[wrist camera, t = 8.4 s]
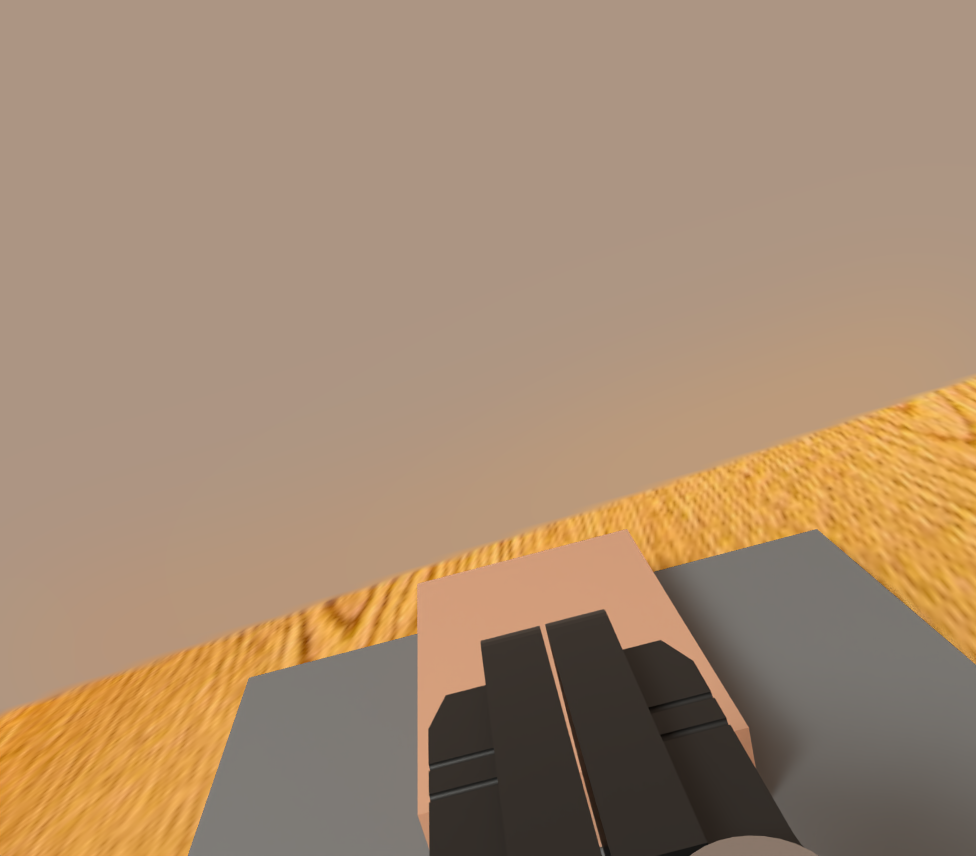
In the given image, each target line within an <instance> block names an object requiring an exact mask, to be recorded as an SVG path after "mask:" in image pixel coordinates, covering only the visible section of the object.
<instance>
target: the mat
mask: <svg viewBox="0 0 976 856" xmlns="http://www.w3.org/2000/svg"><path fill="white" fill-rule="evenodd" d="M653 573H654V574H655V576H656V577H657V579H658V581H659V582H660V584H661V586H662V587H663V589H664V590H665V592H666V594H667V595H668V597H669V599H670V600H671V602H672V603H673V605H674V607H675V608H676V610H677V612H678V613H679V615H680V616H681V618H682V620H683V621H684V623H685V625H686V626H687V628H688V629H689V631H690V633H691V634H692V636H693V638H694V639H695V641H696V642H697V644H698V646H699V647H700V649H701V651H702V652H703V654H704V655H705V657H706V659H707V660H708V662H709V664H710V665H711V667H712V668H713V670H714V672H715V673H716V675H717V677H718V678H719V680H720V681H721V683H722V685H723V686H724V688H725V690H726V691H727V693H728V694H729V696H730V698H731V699H732V701H733V703H734V704H735V706H736V707H737V709H738V711H739V712H740V714H741V716H742V717H743V719H744V720H745V722H746V724H747V725H748V727H749V732H750V737H751V743H752V749H753V755H754V761H755V766H756V770H757V771H758V773H759V775H760V776H761V778H762V780H763V782H764V783H765V785H766V787H767V789H768V790H769V792H770V794H771V795H772V797H773V799H774V801H775V802H776V804H777V806H778V808H779V809H780V811H781V813H782V814H783V816H784V818H785V820H786V821H787V823H788V825H789V827H790V828H791V830H792V832H793V833H794V835H795V836H796V837H797V839H798V840H799V842H800V843H801V845H802V846H803V847H804V848H806V849H808V850H811V851H812V852H814V853H815V854H817V855H818V856H976V665H975V664H974V663H973V662H972V661H971V660H970V659H968V658H967V657H966V656H965V655H964V654H962V653H961V652H960V651H959V650H958V649H957V648H955V647H954V646H953V645H952V644H951V643H950V642H948V641H947V640H946V639H945V638H944V637H943V636H941V635H940V634H939V633H938V632H937V631H936V630H934V629H933V628H932V627H931V626H930V625H928V624H927V623H926V622H925V621H924V620H923V619H921V618H920V617H919V616H918V615H917V614H916V613H914V612H913V611H912V610H911V609H910V608H909V607H907V606H906V605H905V604H904V603H903V602H902V601H900V600H899V599H898V598H897V597H896V596H894V595H893V594H892V593H891V592H890V591H889V590H887V589H886V588H885V587H884V586H883V585H882V584H880V583H879V582H878V581H877V580H876V579H875V578H873V577H872V576H871V575H870V574H869V573H868V572H866V571H865V570H864V569H863V568H862V567H860V566H859V565H858V564H857V563H856V562H855V561H853V560H852V559H851V558H850V557H849V556H848V555H846V554H845V553H844V552H843V551H842V550H841V549H839V548H838V547H837V546H836V545H835V544H834V543H832V542H831V541H830V540H829V539H828V538H826V537H825V536H824V535H823V534H822V533H821V532H819V531H818V530H817V529H816V530H812V531H808V532H804V533H801V534H797V535H793V536H789V537H785V538H781V539H778V540H774V541H770V542H766V543H762V544H759V545H755V546H751V547H747V548H743V549H739V550H736V551H732V552H728V553H724V554H720V555H717V556H713V557H709V558H705V559H701V560H697V561H694V562H690V563H686V564H682V565H678V566H675V567H671V568H667V569H663V570H659V571H655V572H653ZM600 850H601V854H602V856H605V855H604V852H603V848H602V847H600ZM188 856H429V847H428V844H427V841H426V839H425V836H424V833H423V830H422V827H421V824H420V821H419V818H418V634H415V635H411V636H407V637H403V638H400V639H396V640H392V641H388V642H384V643H380V644H377V645H373V646H369V647H365V648H361V649H358V650H354V651H350V652H346V653H342V654H338V655H335V656H331V657H327V658H323V659H319V660H316V661H312V662H308V663H304V664H300V665H296V666H293V667H289V668H285V669H281V670H277V671H274V672H270V673H266V674H262V675H258V676H254V677H251V678H249V679H248V682H247V685H246V688H245V691H244V694H243V697H242V700H241V703H240V706H239V709H238V711H237V714H236V717H235V720H234V723H233V726H232V729H231V732H230V735H229V738H228V741H227V743H226V746H225V749H224V752H223V755H222V758H221V761H220V764H219V767H218V770H217V772H216V775H215V778H214V781H213V784H212V787H211V790H210V793H209V796H208V799H207V802H206V804H205V807H204V810H203V813H202V816H201V819H200V822H199V825H198V828H197V831H196V834H195V836H194V839H193V842H192V845H191V848H190V851H189V854H188Z"/></svg>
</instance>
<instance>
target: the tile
mask: <svg viewBox="0 0 976 856" xmlns="http://www.w3.org/2000/svg"><path fill="white" fill-rule="evenodd" d="M602 609H604V610H605V611H606V613H607V615H608V617H609V619H610V622H611V624H612V626H613V629H614V631H615V633H616V635H617V638H618V640H619V642H620V645H621V647H622V649H627V648H631V647H635V646H639V645H643V644H647V643H650V642H654V641H658V640H662V641H663V642H665V643H667V644H668V645H670V646H671V647H673V648H674V649H676V650H677V651H679V652H681V653H682V654H684V655H685V656H687V657H688V658H690V659H691V660H693V661H694V663H695V664H696V666H697V668H698V670H699V671H700V673H701V675H702V677H703V678H704V680H705V682H706V683H707V685H708V687H709V689H710V690H711V693H712V696H713V698H715V699H716V701H717V702H718V704H719V706H720V708H721V709H722V711H723V713H724V714H725V716H726V718H727V722H728V724H729V725H731V726H732V728H733V730H734V732H735V733H736V735H737V737H738V739H739V740H740V742H741V744H742V745H743V747H744V749H745V751H746V752H747V754H748V756H749V758H750V759H751V761H752V763H753V764H754V766H755V761H754V755H753V749H752V743H751V737H750V732H749V727H748V725H747V724H746V722H745V720H744V719H743V717H742V716H741V714H740V712H739V711H738V709H737V707H736V706H735V704H734V703H733V701H732V699H731V698H730V696H729V694H728V693H727V691H726V690H725V688H724V686H723V685H722V683H721V681H720V680H719V678H718V677H717V675H716V673H715V672H714V670H713V668H712V667H711V665H710V664H709V662H708V660H707V659H706V657H705V655H704V654H703V652H702V651H701V649H700V647H699V646H698V644H697V642H696V641H695V639H694V638H693V636H692V634H691V633H690V631H689V629H688V628H687V626H686V625H685V623H684V621H683V620H682V618H681V616H680V615H679V613H678V612H677V610H676V608H675V607H674V605H673V603H672V602H671V600H670V599H669V597H668V595H667V594H666V592H665V590H664V589H663V587H662V586H661V584H660V582H659V581H658V579H657V577H656V576H655V574H654V573H653V571H652V569H651V568H650V566H649V564H648V563H647V561H646V560H645V558H644V556H643V555H642V553H641V551H640V550H639V548H638V547H637V545H636V543H635V542H634V540H633V538H632V537H631V535H630V533H629V532H628V530H627V529H626V530H622V531H618V532H614V533H610V534H607V535H603V536H599V537H595V538H591V539H587V540H584V541H580V542H576V543H572V544H568V545H564V546H561V547H557V548H553V549H549V550H545V551H541V552H538V553H534V554H530V555H526V556H522V557H518V558H515V559H511V560H507V561H503V562H499V563H496V564H492V565H488V566H484V567H480V568H476V569H473V570H469V571H465V572H461V573H457V574H453V575H450V576H446V577H442V578H438V579H434V580H430V581H427V582H423V583H419V584H418V818H419V821H420V824H421V827H422V830H423V833H424V836H425V839H426V841H427V844H428V847H429V802H430V797H429V771H430V769H429V763H428V728H429V727H430V725H431V723H432V721H433V719H434V717H435V715H436V713H437V711H438V709H439V707H440V705H441V703H442V701H443V699H444V698H445V696H446V695H448V694H452V693H456V692H460V691H464V690H468V689H472V688H476V687H480V686H484V685H486V684H485V676H484V668H483V660H482V652H481V644H480V642H481V640H485V639H489V638H493V637H497V636H501V635H505V634H509V633H513V632H517V631H520V630H524V629H528V628H532V627H536V626H540V629H541V632H542V636H543V640H544V643H545V647H546V651H547V654H548V658H549V662H550V665H551V669H552V673H553V677H554V680H555V684H556V688H557V691H558V695H559V699H560V702H561V706H562V710H563V713H564V717H565V721H566V725H567V728H568V732H569V736H570V739H571V743H572V747H573V750H574V754H575V758H576V762H577V765H578V769H579V773H580V776H581V780H582V784H583V787H584V791H585V795H586V798H587V802H588V806H589V810H590V813H591V817H592V821H593V824H594V828H595V832H596V835H597V839H598V843H599V846H600V847H602V844H601V841H600V837H599V833H598V830H597V826H596V822H595V819H594V815H593V812H592V808H591V804H590V801H589V797H588V793H587V790H586V786H585V782H584V779H583V775H582V771H581V767H580V763H579V760H578V756H577V752H576V748H575V744H574V740H573V736H572V732H571V728H570V724H569V720H568V716H567V712H566V708H565V704H564V700H563V696H562V692H561V688H560V684H559V680H558V676H557V672H556V668H555V664H554V660H553V656H552V652H551V648H550V644H549V640H548V635H547V631H546V627H545V624H547V623H551V622H555V621H559V620H563V619H566V618H570V617H574V616H578V615H582V614H586V613H590V612H594V611H598V610H602ZM755 768H756V766H755Z"/></svg>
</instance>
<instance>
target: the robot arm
mask: <svg viewBox="0 0 976 856" xmlns="http://www.w3.org/2000/svg"><path fill="white" fill-rule="evenodd" d="M545 627H546V631H547V635H548V640H549V644H550V648H551V652H552V656H553V660H554V664H555V668H556V672H557V676H558V680H559V684H560V688H561V692H562V696H563V700H564V704H565V708H566V712H567V716H568V720H569V724H570V728H571V732H572V736H573V740H574V744H575V748H576V752H577V756H578V760H579V763H580V767H581V771H582V775H583V779H584V782H585V786H586V790H587V793H588V797H589V801H590V804H591V808H592V812H593V815H594V819H595V822H596V826H597V830H598V833H599V837H600V841H601V844H602V848H603V852H604V855H605V856H818V855H817V854H815V853H814V852H812V851H811V850H808V849H806V848H804V847H803V846H802V845H801V843H800V842H799V840H798V839H797V837H796V836H795V835H794V833H793V832H792V830H791V828H790V827H789V825H788V823H787V821H786V820H785V818H784V816H783V814H782V813H781V811H780V809H779V808H778V806H777V804H776V802H775V801H774V799H773V797H772V795H771V794H770V792H769V790H768V789H767V787H766V785H765V783H764V782H763V780H762V778H761V776H760V775H759V773H758V771H757V770H756V768H755V766H754V764H753V763H752V761H751V759H750V758H749V756H748V754H747V752H746V751H745V749H744V747H743V745H742V744H741V742H740V740H739V739H738V737H737V735H736V733H735V732H734V730H733V728H732V726H731V725H729V724H728V722H727V718H726V716H725V714H724V713H723V711H722V709H721V708H720V706H719V704H718V702H717V701H716V699H715V698H713V696H712V693H711V690H710V689H709V687H708V685H707V683H706V682H705V680H704V678H703V677H702V675H701V673H700V671H699V670H698V668H697V666H696V664H695V663H694V661H693V660H691V659H690V658H688V657H687V656H685V655H684V654H682V653H681V652H679V651H677V650H676V649H674V648H673V647H671V646H670V645H668V644H667V643H665V642H663V641H662V640H658V641H654V642H650V643H647V644H643V645H639V646H635V647H631V648H627V649H622V647H621V645H620V642H619V640H618V638H617V635H616V633H615V631H614V629H613V626H612V624H611V622H610V619H609V617H608V615H607V613H606V611H605V610H604V609H602V610H598V611H594V612H590V613H586V614H582V615H578V616H574V617H570V618H566V619H563V620H559V621H555V622H551V623H547V624H545ZM480 644H481V652H482V660H483V668H484V676H485V684H486V685H484V686H480V687H476V688H472V689H468V690H464V691H460V692H456V693H452V694H448V695H446V696H445V698H444V699H443V701H442V703H441V705H440V707H439V709H438V711H437V713H436V715H435V717H434V719H433V721H432V723H431V725H430V727H429V728H428V763H429V769H430V771H429V797H430V802H429V856H602V854H601V850H600V846H599V843H598V839H597V835H596V832H595V828H594V824H593V821H592V817H591V813H590V810H589V806H588V802H587V798H586V795H585V791H584V787H583V784H582V780H581V776H580V773H579V769H578V765H577V762H576V758H575V754H574V750H573V747H572V743H571V739H570V736H569V732H568V728H567V725H566V721H565V717H564V713H563V710H562V706H561V702H560V699H559V695H558V691H557V688H556V684H555V680H554V677H553V673H552V669H551V665H550V662H549V658H548V654H547V651H546V647H545V643H544V640H543V636H542V632H541V629H540V626H536V627H532V628H528V629H524V630H520V631H517V632H513V633H509V634H505V635H501V636H497V637H493V638H489V639H485V640H481V642H480Z"/></svg>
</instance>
